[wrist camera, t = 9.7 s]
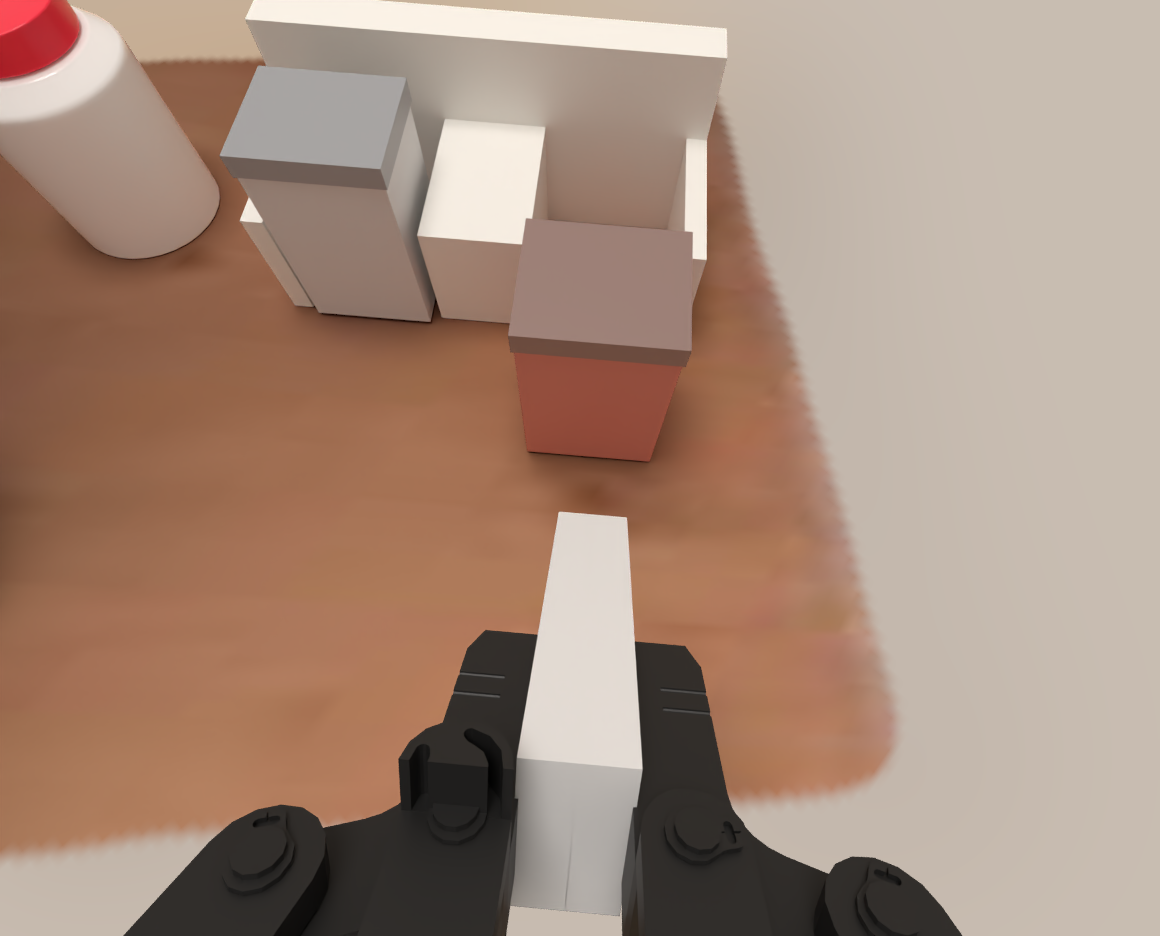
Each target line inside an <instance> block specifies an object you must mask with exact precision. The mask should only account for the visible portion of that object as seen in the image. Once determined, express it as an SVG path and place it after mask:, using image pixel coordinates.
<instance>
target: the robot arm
mask: <svg viewBox="0 0 1160 936" xmlns="http://www.w3.org/2000/svg"><path fill="white" fill-rule="evenodd" d="M399 778H400V796H401V803H399V804H398V805H397V806H395V807H393V808H391V809H389V810H387V811H385V812H384V813H382V814H379V815H376V816H372V817H369V818H366V819H362V820H358V821H353V822H348V823H344V824H339V825H334V826H330V827H325V828H323V827H322V825H321V823H320V821H319V819H318V817H316V816H315V815H313V814H312V813H310V812H309V811H307V810H306V809H304V808H302V807H295V806H287V805H278V806H273V807H268V808H263V809H258V810H255V811H253V812H251V813H249V814H247V815H245V816H243V817H241V818H239V819H237V820H235V821H233V822H232V823H231V824H230V825H228V826H227V827H226V828H225V829H224V830H222V831H221V832H220V833H219V834H218V835H217V836H215V837H214V838H213V839H212V840H211V841H210V842H209V843H208V844H207V845H206V846H205V847H204V848H203V849H202V851H201V852H200V853H199V854H198V855H197V856H196V857H195V858H194V859H193V860H192V861H191V863H190V864H189V865H188V866H187V867H186V868H185V869H184V870H183V871H182V872H181V874H180V875H179V876H178V877H177V878H176V879H175V880H174V881H173V882H172V883H171V884H170V885H169V887H168V888H167V889H166V890H165V891H164V892H163V893H162V894H161V895H160V896H159V898H157V900H156V901H155V902H154V903H153V904H152V905H151V906H150V907H149V908H148V910H146V912H145V913H144V914H143V915H142V916H141V917H140V918H139V919H138V920H137V921H136V923H135V924H134V925H133V926H132V927H131V928H130V929H129V930H128V931H127V932H126V934H125V935H124V936H506V930H507V924H508V917H509V909H510V906H519V907H529V908H540V909H550V910H560V911H572V912H581V913H592V914H603V915H613V916H620V910H621V904H622V936H962V935H961V933H960V932H959V930H958V929H957V928H956V926H955V925H954V923H953V922H952V920H951V919H950V918H949V916H948V915H947V913H946V912H945V910H944V909H943V908H942V906H941V905H940V904H939V903H938V902H937V901H936V900H935V898H934V897H933V896H932V895H931V894H930V893H929V892H928V891H927V890H926V889H925V887H924V886H923V885H922V884H921V883H919V882H918V881H917V880H915V879H914V878H912V877H911V876H909V875H908V874H907V873H905V872H904V871H902V870H901V869H900V868H898V867H896V866H894V865H891V864H888V863H886V862H883V861H881V860H878V859H876V858H869V857H850V858H848V859H845V860H843V861H841V862H838V863H836V864H835V865H834V867H833V869H832V870H831V872H830V873H829V874H827V873H825V872H822V871H820V870H818V869H815V868H813V867H810V866H808V865H805V864H803V863H800V862H798V861H796V860H793V859H790V858H788V857H786V856H784V855H782V854H780V853H778V852H776V851H774V850H772V849H770V848H768V847H767V846H766V845H765V844H763V843H762V842H761V841H759V840H758V839H757V838H755V837H754V836H753V835H752V834H751V833H750V832H749V831H748V830H747V828H746V827H745V825H744V823H743V822H742V820H741V819H740V818H739V817H738V816H737V815H736V813H735V812H734V810H733V809H732V806H731V803H730V800H729V797H728V794H727V790H726V785H725V780H724V776H723V771H722V766H721V761H720V756H719V752H718V747H717V742H716V737H715V732H714V728H713V723H712V718H711V716H710V708H709V704H708V699H707V696H706V689H705V684H704V680H703V675H702V670H701V667H700V666H699V664H698V663H697V662H696V660H695V659H694V658H693V656H692V655H691V654H690V652H689V651H688V650H687V648H686V647H685V646H678V645H667V644H656V643H645V642H635V640H634V624H633V608H632V592H631V576H630V560H629V544H628V528H627V518H626V517H614V516H603V515H592V514H580V513H569V512H559V515H558V521H557V526H556V532H555V538H554V544H553V550H552V556H551V561H550V567H549V573H548V579H547V585H546V591H545V596H544V602H543V608H542V614H541V620H540V626H539V631H538V635H534V634H523V633H512V632H501V631H490V630H485V631H484V632H483V633H482V634H481V635H480V636H479V637H478V638H477V639H476V640H475V641H474V642H473V643H472V644H471V645H470V646H469V647H468V648H467V651H466V654H465V657H464V660H463V663H462V666H461V669H460V675H458V678H457V681H456V684H455V687H454V692H453V695H452V696H451V700H450V703H449V706H448V709H447V712H446V715H445V718H444V721H443V723H440V724H438V725H435V726H432V727H430V728H427V729H425V730H424V731H423V732H422V733H420V734H419V735H418V736H416V737H415V738H414V739H412V740H411V741H410V742H409V743H408V745H407V746H406V748H405V750H404V751H403V753H402V754H401V756H400V757H399Z"/></svg>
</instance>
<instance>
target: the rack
mask: <svg viewBox="0 0 1160 936" xmlns="http://www.w3.org/2000/svg"><path fill="white" fill-rule="evenodd" d="M245 20H246V22H247V24H248V26H249V29H250V31H251V33H252V35H253V37H254V39H255V42H256V44H257V46H258V48H259V51H260V53H261V55H262V57H263V59H264V62H265V64H266V66H269V67H281V68H293V69H305V70H318V71H330V72H342V73H355V74H367V75H379V76H391V77H404V78H407V82H408V86H409V90H410V94H411V98H412V102H411V106H410V107H411V111H412V115H413V119H414V123H415V127H416V131H417V135H418V139H419V143H420V147H421V151H422V155H423V159H424V163H425V167H426V171H427V175H428V179H429V183H430V184H429V188H428V192H427V196H426V200H425V205H424V209H423V213H422V217H421V221H420V226H419V230H418V234H417V237H418V241H419V244H420V247H421V250H422V254H423V257H424V260H425V263H426V267H427V270H428V273H429V277H430V280H431V283H432V286H433V290H434V293H435V296H436V300H437V303H438V306H439V309H440V313H441V316H442V318H451V319H463V320H474V321H486V322H498V323H510V320H511V313H512V306H513V300H514V293H515V287H516V280H517V273H518V267H519V260H520V254H521V247H522V240H523V234H524V227H525V221H526V218H530V219H542V220H559V221H571V222H584V223H596V224H608V225H620V226H632V227H644V228H656V229H667V230H675V231H687V232H693V264H692V304H693V301H694V298H695V295H696V292H697V289H698V285H699V282H700V279H701V276H702V273H703V270H704V266H705V263H706V260H707V137H708V133H709V129H710V125H711V121H712V117H713V113H714V109H715V105H716V101H717V97H718V93H719V89H720V85H721V81H722V77H723V73H724V69H725V65H726V61H727V29H726V28H713V27H700V26H689V25H676V24H663V23H651V22H639V21H626V20H614V19H602V18H589V17H577V16H565V15H552V14H540V13H528V12H515V11H503V10H490V9H477V8H466V7H453V6H441V5H428V4H416V3H404V2H391V1H379V0H254V1H253V3H252V5H251V8H250V10H249V12H248V14H247V16H246V18H245ZM240 222H241V224H242V225H243V227H244V228H245V230H246V231H247V233H248V234H249V236H250V238H251V239H252V241H253V242H254V244H255V245H256V247H257V248H258V250H259V251H260V253H261V254H262V256H263V257H264V259H265V260H266V262H267V263H268V265H269V267H270V268H271V270H272V271H273V273H274V274H275V276H276V277H277V279H278V280H279V282H280V283H281V285H282V286H283V288H284V289H285V291H286V292H287V294H288V296H289V297H290V299H291V300H292V302H293V303H294V305H296V306H307V307H314V303H313V302H312V300H311V299H310V297H309V295H308V294H307V292H306V290H305V289H304V287H303V285H302V284H301V282H300V280H299V279H298V277H297V275H296V274H295V272H294V271H293V269H292V267H291V266H290V264H289V262H288V261H287V259H286V257H285V256H284V254H283V252H282V251H281V249H280V247H279V246H278V244H277V243H276V241H275V239H274V238H273V236H272V234H271V233H270V231H269V229H268V228H267V226H266V224H265V223H264V221H263V219H262V218H261V216H260V215H259V213H258V211H257V210H256V208H255V206H254V205H253V203H252V201H251V200H250V198H249V199H248V201H247V204H246V206H245V209H244V211H243V214H242V216H241V219H240Z"/></svg>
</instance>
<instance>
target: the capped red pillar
mask: <svg viewBox="0 0 1160 936" xmlns="http://www.w3.org/2000/svg"><path fill="white" fill-rule="evenodd" d="M692 264H693V232H687V231H675V230H663V229H651V228H639V227H627V226H615V225H603V224H591V223H578V222H566V221H554V220H542V219H530V218H526V221H525V227H524V234H523V240H522V247H521V254H520V260H519V267H518V273H517V280H516V287H515V293H514V300H513V306H512V313H511V320H510V326H509V333H508V339H509V345H510V352H514V356H515V364H516V371H517V379H518V386H519V394H520V401H521V408H522V416H523V423H524V431H525V438H526V445H527V451H531V452H543V453H554V454H566V455H578V456H590V457H601V458H613V459H625V460H637V461H648V462H650V459H651V456H652V453H653V450H654V447H655V444H656V441H657V438H658V436H659V433H660V430H661V427H662V424H663V421H664V418H665V415H666V412H667V409H668V407H669V404H670V401H671V398H672V395H673V392H674V389H675V386H676V383H677V380H678V378H679V375H680V372H681V369H682V367H686V365H687V362H688V359H689V357H690V354H691V350H692Z"/></svg>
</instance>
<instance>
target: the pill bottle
mask: <svg viewBox="0 0 1160 936" xmlns="http://www.w3.org/2000/svg"><path fill="white" fill-rule="evenodd" d="M0 155H1V156H2V157H3V158H4V159H5V160H6V161H7V162H8V163H9V164H10V165H11V166H12V167H13V168H14V169H15V170H16V171H17V172H18V173H19V174H20V175H21V176H22V177H23V178H24V179H25V180H26V181H27V182H28V183H29V184H30V185H31V186H32V187H33V188H34V189H35V190H36V191H37V192H38V193H39V194H40V195H41V196H42V197H43V198H44V199H45V200H46V201H47V202H48V203H49V204H50V205H51V206H52V207H53V208H54V209H55V210H56V211H57V212H58V213H59V214H60V215H61V216H62V217H63V218H64V219H65V220H66V221H67V222H68V223H69V224H70V225H71V226H72V227H73V228H74V229H75V230H76V231H77V232H78V233H79V234H80V235H81V236H82V237H83V238H84V239H85V240H86V241H87V242H88V243H89V244H91V245H92V246H93V247H94V248H96V249H97V250H99V251H101V252H103V253H105V254H107V255H110V256H114V257H118V258H127V259H140V258H150V257H155V256H159V255H163V254H166V253H169V252H171V251H174V250H177V249H178V248H180V247H182V246H184V245H186V244H188V243H189V242H191V241H192V240H193V239H195V238H196V237H198V236H199V235H200V234H201V233H202V232H203V231H204V230H205V229H206V228H207V227H208V225H209V224H210V222H211V221H212V220H213V218H214V217H215V214H216V212H217V209H218V207H219V200H220V193H219V187H218V185H217V183H216V180H215V178H214V177H213V175H212V174H211V172H210V171H209V169H208V168H207V166H206V165H205V163H204V161H203V160H202V158H201V157H200V155H199V154H198V152H197V151H196V149H195V148H194V146H193V145H192V143H191V141H190V140H189V138H188V137H187V135H186V134H185V132H184V131H183V129H182V128H181V126H180V125H179V123H178V121H177V120H176V118H175V117H174V115H173V114H172V112H171V111H170V109H169V108H168V106H167V105H166V103H165V101H164V100H163V98H162V97H161V95H160V94H159V92H158V91H157V89H156V88H155V86H154V85H153V83H152V81H151V80H150V78H149V77H148V75H147V74H146V72H145V71H144V69H143V68H142V66H141V65H140V63H139V61H138V60H137V59H136V57H135V55H134V54H133V52H132V51H131V49H130V48H129V46H128V45H127V43H126V41H125V40H124V38H123V37H122V36H121V34H120V33H119V32H118V31H117V30H116V29H115V27H114V26H113V25H112V24H111V23H109V22H108V21H106V20H105V19H103V18H102V17H100V16H98V15H96V14H93V13H91V12H89V11H86V10H83V9H81V8H78V7H75V6H73V5H70V4H69V3H68V1H67V0H0Z"/></svg>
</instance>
